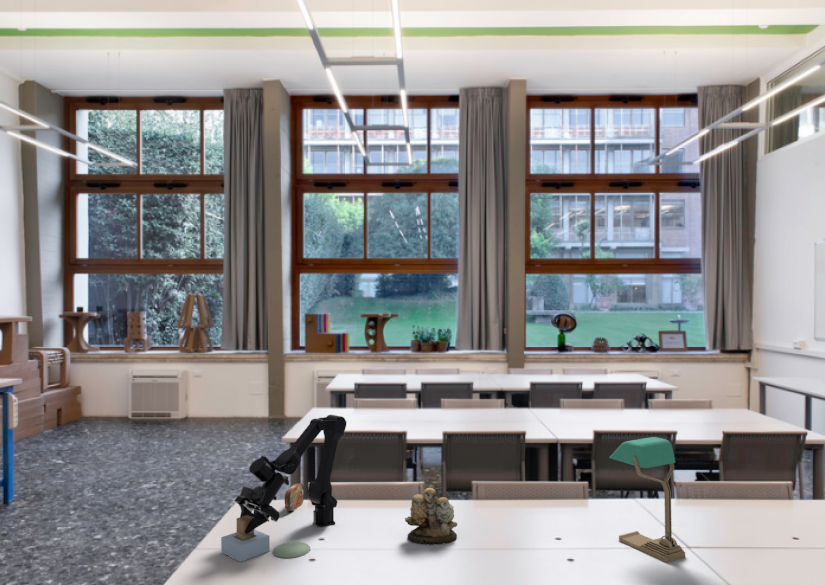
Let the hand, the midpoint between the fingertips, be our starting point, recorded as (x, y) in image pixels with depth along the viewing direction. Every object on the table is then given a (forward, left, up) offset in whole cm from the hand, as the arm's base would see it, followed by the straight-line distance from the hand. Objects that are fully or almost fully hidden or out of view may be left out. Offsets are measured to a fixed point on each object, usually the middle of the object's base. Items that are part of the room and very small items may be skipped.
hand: (241, 531), depth 200 cm
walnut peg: (-1, -1, -5) cm, 5 cm away
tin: (-27, -35, -7) cm, 45 cm away
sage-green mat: (-15, +6, -7) cm, 17 cm away
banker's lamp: (-119, +59, -7) cm, 133 cm away
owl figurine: (-60, +18, -7) cm, 63 cm away
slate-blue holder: (-1, -1, -7) cm, 7 cm away
